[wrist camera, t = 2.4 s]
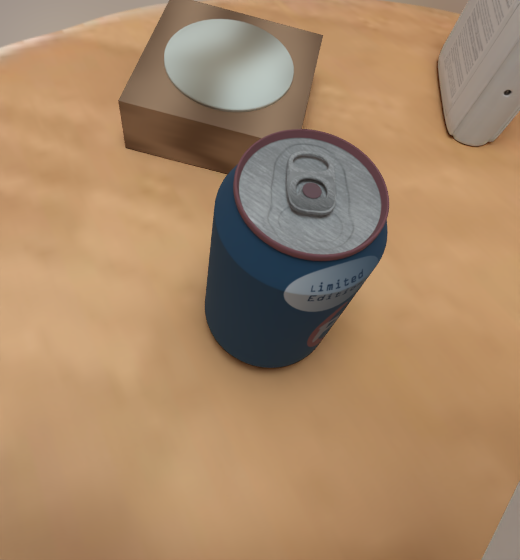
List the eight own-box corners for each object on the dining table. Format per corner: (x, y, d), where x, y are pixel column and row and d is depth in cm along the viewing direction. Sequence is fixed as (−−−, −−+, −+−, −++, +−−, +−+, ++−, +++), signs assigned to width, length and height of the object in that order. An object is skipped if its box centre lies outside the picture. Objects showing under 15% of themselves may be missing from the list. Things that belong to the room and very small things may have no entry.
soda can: (324, 378, 26) (417, 281, 16) (198, 370, 26) (209, 262, 15) (320, 269, 30) (396, 128, 19) (208, 259, 29) (223, 105, 18)
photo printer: (497, 152, 37) (628, -5, 26) (444, 143, 36) (554, -19, 26) (478, 63, 42) (582, -101, 31) (431, 54, 41) (519, -115, 30)
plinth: (309, 81, 37) (324, 31, 34) (284, 188, 32) (298, 143, 28) (173, 45, 37) (172, -10, 33) (125, 147, 32) (117, 96, 28)
